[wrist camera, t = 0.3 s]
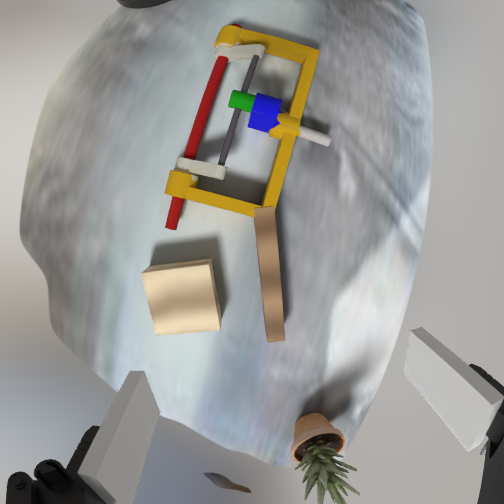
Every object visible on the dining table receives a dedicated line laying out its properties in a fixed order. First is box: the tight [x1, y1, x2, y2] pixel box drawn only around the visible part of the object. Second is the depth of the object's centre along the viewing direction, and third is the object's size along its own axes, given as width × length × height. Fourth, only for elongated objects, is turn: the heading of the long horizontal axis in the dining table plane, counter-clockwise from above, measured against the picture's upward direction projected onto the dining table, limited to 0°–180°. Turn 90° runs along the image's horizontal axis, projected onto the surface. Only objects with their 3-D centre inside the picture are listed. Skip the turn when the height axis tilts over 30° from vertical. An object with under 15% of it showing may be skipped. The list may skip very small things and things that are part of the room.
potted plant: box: [291, 413, 360, 504], centre depth 34 cm, size 10×10×25 cm
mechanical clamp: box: [165, 24, 331, 230], centre depth 32 cm, size 18×6×30 cm
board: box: [254, 207, 285, 343], centre depth 37 cm, size 18×2×4 cm, turn 6°
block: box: [141, 258, 222, 335], centre depth 38 cm, size 9×9×4 cm
